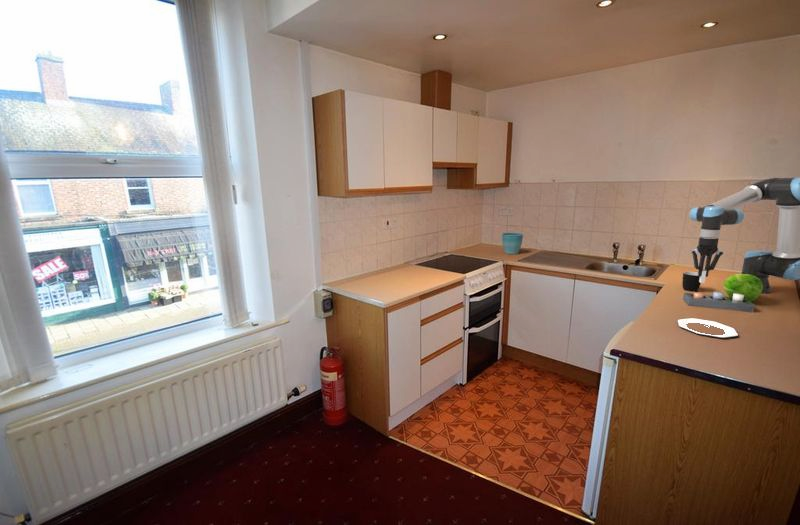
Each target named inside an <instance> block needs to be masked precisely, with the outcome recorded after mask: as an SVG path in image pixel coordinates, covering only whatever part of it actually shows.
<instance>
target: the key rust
mask: <svg viewBox="0 0 800 525" xmlns="http://www.w3.org/2000/svg"><path fill="white" fill-rule="evenodd" d="M693 294H694V296H693V297H696V298H703V296H704V295H705V293H703V292H698V291H696V292H693Z"/></svg>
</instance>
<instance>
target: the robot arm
mask: <svg viewBox="0 0 800 525" xmlns="http://www.w3.org/2000/svg"><path fill="white" fill-rule="evenodd" d="M760 201H775V206H776V207H777V208H778V209H779V212H778V214H779V215H778V223H777V224H778V226H777V236H776V237H777V238H776V250H775V251H772V250H749V251H746V253H745V254H744V257H743V264H742V269H741V273H740V274H749V275H753V276H756V277H757V278H759V279H760V280H761V282H762V285H763V289H762V292H761V294H768V293H771V284H770V280H769V278H770V277H774V278H780V279H783V280H790V281H797V280H799V279H800V177H771V178H766V179H763V180H760V181H756V182H754V183H751V184H749V185H746V186H745V187H744V188H743V189H742V190H740V191H738V192H735V193H734V194H731V195H728V196H726V197H723V198H722V199H719V200H718V201H715V202H713V203H711V204H708V205H706V206H702V207H701V206H698V207H696V206H695V207H693V208H692V209H691V210H690V211H689V218H690V220H691V221H694V222H698V223H699V222H701V228H700V233H699V238H698V245H697V246H696V248H695V249H690V252H691V253H690V254H692V259H693V266H694V268H695V269H696V270H698V272H697V273H698V276H700V279H699V282H700V283H701V284H705V281H706V278H707V277H709V272H710V271H713V270H715V268H716V266H717V264H718V262H719V259H720V258H721V256H722V255H723V254H724V252H723V251H721V250H719V248H718V246H719V245H718V244H719V238H720V233H721V227H722V226H730V225H732V226H734V225H737V224H741V223H742V222H743V220H744V218H745V217H744V216H745V213H744V212H743V211H742V210H741V209H738V208H740V207H743V206H745V205H747V204H749V203H757V202H760ZM698 253H699V255H700V258H699V259H698ZM713 255H714V257H713ZM712 258H713V259H712ZM698 260H699V261H698Z"/></svg>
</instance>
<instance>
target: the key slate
mask: <svg viewBox="0 0 800 525" xmlns="http://www.w3.org/2000/svg"><path fill="white" fill-rule="evenodd" d="M712 295H713V298H712V299H717V300H723V296H724V295H725V293H724V292H720V291H713V293H712Z"/></svg>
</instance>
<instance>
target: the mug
mask: <svg viewBox="0 0 800 525" xmlns="http://www.w3.org/2000/svg"><path fill="white" fill-rule="evenodd" d="M699 279H700V276H698V272H696V271H684V272H683V273H682V283H681V284H682V288H683V290H684V291H686V292H692V293H694V292H698V291H699V288H700V287H701V284H702V283H700V282H699Z"/></svg>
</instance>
